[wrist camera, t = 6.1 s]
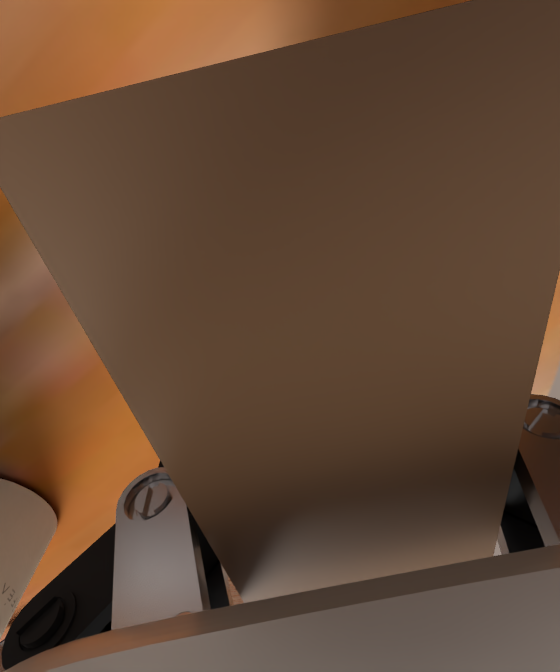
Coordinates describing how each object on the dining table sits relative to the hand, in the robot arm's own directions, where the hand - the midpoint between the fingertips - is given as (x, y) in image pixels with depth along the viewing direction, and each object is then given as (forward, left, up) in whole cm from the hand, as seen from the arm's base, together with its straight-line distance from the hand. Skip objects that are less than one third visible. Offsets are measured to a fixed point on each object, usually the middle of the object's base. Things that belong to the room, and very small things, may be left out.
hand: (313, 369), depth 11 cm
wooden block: (0, 0, -1) cm, 1 cm away
